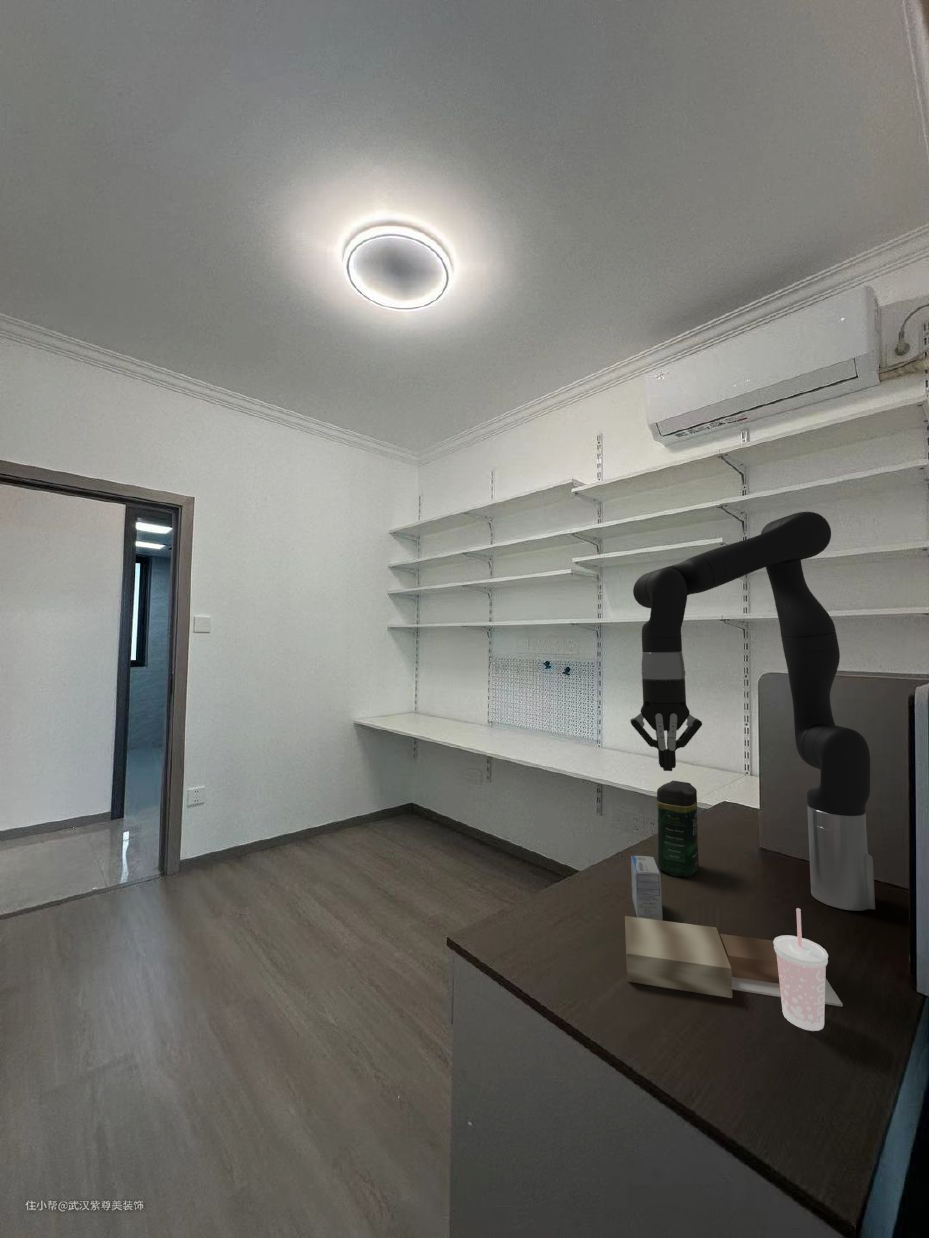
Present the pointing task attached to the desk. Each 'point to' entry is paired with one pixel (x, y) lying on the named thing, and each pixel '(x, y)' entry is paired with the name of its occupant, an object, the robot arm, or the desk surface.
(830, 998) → the mat
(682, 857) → the coffee jar
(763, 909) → the desk surface
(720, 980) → the tan flat block
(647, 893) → the medicine box
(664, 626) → the robot arm
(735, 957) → the walnut tile
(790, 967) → the beverage cup
